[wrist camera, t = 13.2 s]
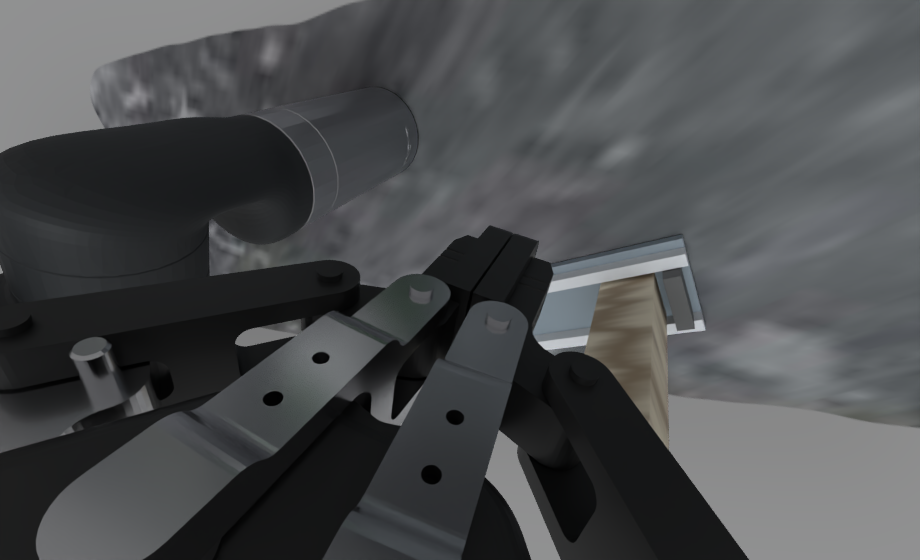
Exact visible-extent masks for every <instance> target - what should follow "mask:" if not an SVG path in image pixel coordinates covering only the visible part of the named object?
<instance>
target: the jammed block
mask: <svg viewBox="0 0 920 560" xmlns="http://www.w3.org/2000/svg"><path fill="white" fill-rule="evenodd" d="M584 354H586V355H589V356H591V357H593V358H595V359H597V360H599V361H600V362H601V363H603V364H604V365H605V366H606V367H607V368H608V369H609V370H610V371H611V372H612V374H613V375H614V376H615V378H616V379H617V381H618V382H619V383H620V385H621V386H622V387H623V389H624V390H625V391H626V393H627V394H628V396H629V397H630V398H631V400H632V401H633V402H634V404H635V405H636V406H637V408H638V409H639V411H640V412H641V413H642V415H643V416H644V417H645V419H646V420H647V421H648V423H649V424H650V425H651V427H652V428H653V430H654V431H655V432H656V434H657V435H658V436H659V438H660V439H661V440H662V442H663V443H664V445H665V446H666V447H667V449H668V450H669V425H668V367H667V314H666V310H665V307H664V303H663V300H662V296H661V293H660V289H659V286H658V283H657V279H656V276H655V272H654V273H649V274H644V275H639V276H634V277H628V278H623V279H618V280H613V281H608V282H603V283H601V285H600V289H599V293H598V298H597V302H596V306H595V310H594V315H593V319H592V323H591V327H590V332H589V336H588V340H587V345H586V349H585V353H584Z"/></svg>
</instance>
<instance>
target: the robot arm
mask: <svg viewBox="0 0 920 560" xmlns="http://www.w3.org/2000/svg"><path fill="white" fill-rule="evenodd" d="M417 145H418V133H417V128H416V124H415V121H414V118H413V116H412V114H411V112H410V110H409V108H408V107H407V106H406V104H405V103H404V102H403V101H402V100H401V99H400V98H399V97H398V96H397V95H395V94H394V93H392V92H390V91H388V90H386V89H383V88H379V87H368V88H363V89H358V90H354V91H349V92H343V93H339V94H334V95H329V96H325V97H320V98H315V99H311V100H306V101H301V102H297V103H292V104H287V105H283V106H278V107H273V108H269V109H265V110H261V111H256V112H251V113H247V114H242V115H237V116H232V117H226V118H214V117H192V118H180V119H172V120H165V121H158V122H152V123H145V124H138V125H131V126H123V127H115V128H106V129H98V130H90V131H82V132H75V133H68V134H62V135H56V136H50V137H46V138H42V139H37V140H33V141H29V142H26V143H23V144H20V145H18V146H15V147H12V148H9V149H7V150H5V151H3V152H2V153H0V265H1V268H2V271H3V273H2V274H0V560H531V558H530V555H529V552H528V549H527V546H526V543H525V540H524V537H523V534H522V532H521V529H520V526H519V524H518V522H517V520H516V518H515V516H514V514H513V512H512V510H511V508H510V507H509V505H508V504H507V502H506V501H505V499H504V498H503V497H502V495H501V494H500V493H499V492H498V490H497V489H496V488H495V487H494V486H493V485H492V484H491V483H490V482H489V481H488V480H487V479H486V478H485V475H486V472H487V468H488V464H489V461H490V458H491V455H492V451H493V448H494V444H495V441H496V438H497V434H498V431H499V430H500V431H501V432H502V433H504V434H505V435H506V436H507V437H508V438H510V439H511V440H512V441H513V442H514V443H516V444H517V445H518V450H517V454H518V459H519V462H520V464H521V466H522V469H523V471H524V474H525V476H526V478H527V481H528V483H529V485H530V488H531V490H532V492H533V495H534V497H535V499H536V502H537V504H538V507H539V509H540V511H541V514H542V516H543V519H544V521H545V523H546V526H547V528H548V530H549V533H550V535H551V537H552V540H553V542H554V545H555V547H556V549H557V552H558V554H559V556H560V559H561V560H749V559H748V558H747V556H746V555H745V554H744V552H743V551H742V549H741V548H740V547H739V545H738V544H737V543H736V541H735V540H734V539H733V537H732V536H731V534H730V533H729V532H728V531H727V529H726V528H725V526H724V525H723V524H722V523H721V521H720V519H719V518H718V517H717V515H716V514H715V513H714V511H713V510H712V509H711V507H710V506H709V505H708V503H707V502H706V500H705V499H704V498H703V496H702V495H701V494H700V492H699V491H698V490H697V488H696V487H695V485H694V484H693V483H692V482H691V480H690V479H689V477H688V476H687V475H686V473H685V472H684V470H683V469H682V468H681V466H680V465H679V464H678V462H677V461H676V460H675V458H674V457H673V455H672V454H671V453H670V452H669V450H668V449H667V447H666V446H665V445H664V443H663V442H662V440H661V439H660V438H659V436H658V435H657V434H656V432H655V431H654V430H653V428H652V427H651V425H650V424H649V423H648V421H647V420H646V419H645V417H644V416H643V415H642V413H641V412H640V411H639V409H638V408H637V406H636V405H635V404H634V402H633V401H632V400H631V398H630V397H629V396H628V394H627V393H626V391H625V390H624V389H623V387H622V386H621V385H620V383H619V382H618V381H617V379H616V378H615V376H614V375H613V374H612V372H611V371H610V370H609V369H608V368H607V367H606V366H605V365H604V364H603V363H601V362H600V361H599V360H597V359H595V358H593V357H591V356H589V355H586V354H583V353H579V352H562V353H559V354H557V355H555V356H554V355H552V354H551V353H549V352H548V351H547V350H545V349H544V348H543V347H542V346H541V345H540V344H539V343H538V342H537V341H536V339H535V337H534V335H533V330H534V328H535V326H536V323H537V321H538V319H539V316H540V313H541V310H542V307H543V304H544V301H545V299H546V296H547V293H548V290H549V287H550V284H551V281H552V278H553V275H554V273H553V270H552V266H551V263H549V262H546V261H543V260H540V259H537V258H535V255H536V252H537V249H538V244H539V241H536V240H533V239H530V238H527V237H524V236H521V235H518V234H513V233H512V232H509V231H506V230H502V229H499V228H496V227H493V226H488V228H487V229H486V230H485V231H484V232H483V233H482V235H481V236H480V237H479V238H475V237H472V236H469V235H467V236H464V237H462V238H459V239H456V240H454V241H453V242H452V243H451V244H450V245H449V246H448V247H447V250H445V251H444V252H443V253H442V254H441V256H439V257H438V258H437V259H436V260H435V261H434V262H433V263H432V264H431V265H430V266H429V267H428V268H427V269H426V270H425V271H424V272H423V273H422V274H411V275H406V276H403V277H400V278H399V279H397V280H396V281H395V282H393V283H392V284H391V285H390V286H388V287H387V288H381V287H374V286H367V285H361V284H360V274H359V271H358V270H357V269H356V268H355V267H354V266H352V265H350V264H348V263H345V262H342V261H336V260H323V261H315V262H308V263H301V264H294V265H287V266H280V267H273V268H266V269H258V270H251V271H244V272H237V273H230V274H223V275H216V276H209V273H210V271H209V220H211V219H212V218H213V220H214V221H215V222H216V223H218V224H219V225H220V226H221V227H222V228H223V229H224V230H226V231H227V232H228V233H230V234H232V235H233V236H235V237H237V238H239V239H241V240H243V241H245V242H249V243H253V244H261V245H262V244H271V243H275V242H278V241H280V240H282V239H284V238H286V237H288V236H290V235H291V234H293V233H295V232H297V231H298V230H300V229H302V228H303V227H305V226H307V225H309V224H310V223H312V222H314V221H316V220H317V219H319V218H321V217H322V216H324V215H326V214H328V213H330V212H331V211H333V210H335V209H337V208H338V207H340V206H342V205H344V204H346V203H347V202H349V201H351V200H353V199H354V198H356V197H358V196H360V195H361V194H363V193H365V192H367V191H369V190H370V189H372V188H374V187H376V186H377V185H379V184H381V183H383V182H385V181H386V180H388V179H390V178H392V177H393V176H395V175H397V174H399V173H401V172H402V171H403V170H405V169H406V168H407V167H408V166H409V165H410V163H411V162H412V161H413V159H414V156H415V154H416V150H417ZM296 319H301V329H302V332H301V333H299V334H298V335H297V336H294V337H289V338H284V339H280V340H275V341H271V342H266V343H261V344H257V345H253V346H247V347H243V346H238V345H236V344H235V341H236V339H237V337H238V336H239V335H240V334H241V333H242V332H244V331H246V330H248V329H252V328H257V327H262V326H267V325H272V324H277V323H282V322H287V321H291V320H296ZM402 422H403V423H402ZM401 423H402V425H401ZM400 425H401V426H400Z"/></svg>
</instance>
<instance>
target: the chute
mask: <svg viewBox="0 0 920 560" xmlns="http://www.w3.org/2000/svg"><path fill="white" fill-rule="evenodd" d="M551 266H552V270H553V273H554V275H553V278H552V281H551V284H550V287H549V290H548V293H547V296H546V299H545V301H544V304H543V307H542V310H541V313H540V316H539V319H538V321H537V323H536V326H535V328H534V330H533V335H534V337H535V339H536V341H537V342H538V343H539V344H540V345H541V346H542V347H543V348H544V349H545V350H551V349H559V348H567V347H575V346H583V345H587V340H588V336H589V332H590V327H591V323H592V319H593V315H594V310H595V306H596V302H597V298H598V293H599V289H600V285H601V283H603V282H608V281H613V280H618V279H623V278H628V277H634V276H639V275H644V274H649V273H654V272H655V276H656V279H657V283H658V286H659V289H660V293H661V296H662V300H663V303H664V307H665V310H666V314H667V335H671V334H679V333H687V332H695V331H704V330H705V329H706V326H705V321H704V317H703V313H702V309H701V305H700V302H699V298H698V294H697V290H696V286H695V282H694V278H693V274H692V270H691V267H690V263H689V259H688V255H687V251H686V247H685V243H684V239H683V236H682V234H681V235H676V236H672V237H667V238H663V239H659V240H654V241H650V242H646V243H641V244H637V245H632V246H628V247H624V248H619V249H615V250H610V251H606V252H602V253H597V254H593V255H588V256H584V257H580V258H575V259H571V260H567V261H562V262H558V263H553V264H551Z"/></svg>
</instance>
